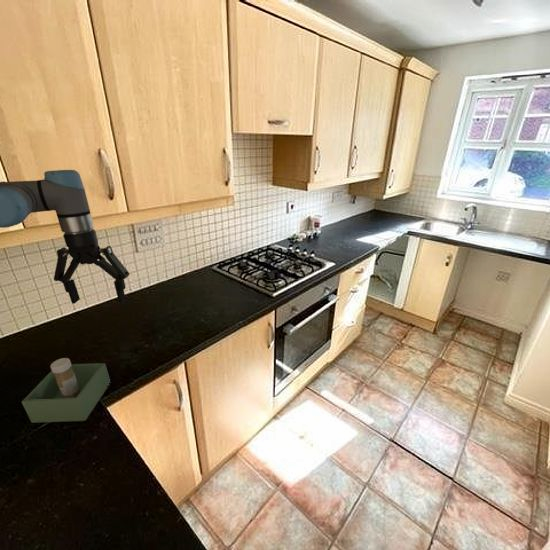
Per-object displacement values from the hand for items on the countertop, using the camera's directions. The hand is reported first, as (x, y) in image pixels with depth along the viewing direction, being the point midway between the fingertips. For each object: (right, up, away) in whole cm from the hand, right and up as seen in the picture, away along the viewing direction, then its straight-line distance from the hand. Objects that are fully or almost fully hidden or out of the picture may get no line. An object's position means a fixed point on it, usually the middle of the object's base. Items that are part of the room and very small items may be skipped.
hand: (99, 300), depth 89 cm
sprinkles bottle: (-7, -29, -1) cm, 30 cm away
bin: (-7, -29, -1) cm, 30 cm away
